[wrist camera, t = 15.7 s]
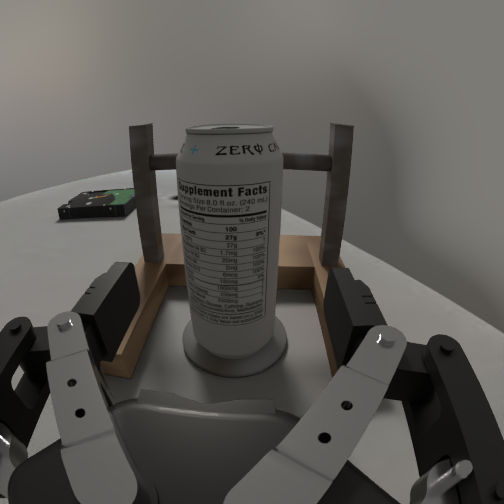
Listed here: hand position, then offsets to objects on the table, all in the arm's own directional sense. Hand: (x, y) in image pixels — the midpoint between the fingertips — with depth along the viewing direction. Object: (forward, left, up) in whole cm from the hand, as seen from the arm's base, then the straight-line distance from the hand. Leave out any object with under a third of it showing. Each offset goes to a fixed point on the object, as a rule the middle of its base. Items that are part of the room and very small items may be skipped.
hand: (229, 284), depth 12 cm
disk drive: (-17, +45, -10) cm, 49 cm away
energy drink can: (+1, +7, -10) cm, 12 cm away
